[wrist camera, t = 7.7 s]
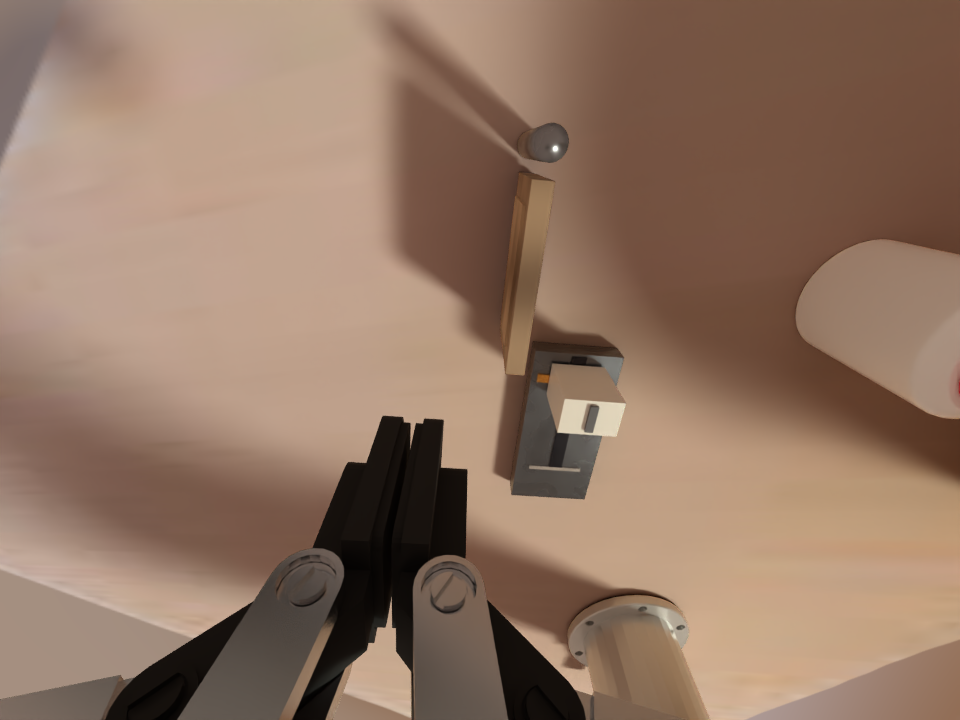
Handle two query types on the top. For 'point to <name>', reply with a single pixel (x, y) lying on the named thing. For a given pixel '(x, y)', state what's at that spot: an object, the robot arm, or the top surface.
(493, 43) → the top surface
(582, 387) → the fader cap
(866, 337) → the pill bottle
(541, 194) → the door
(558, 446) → the board
